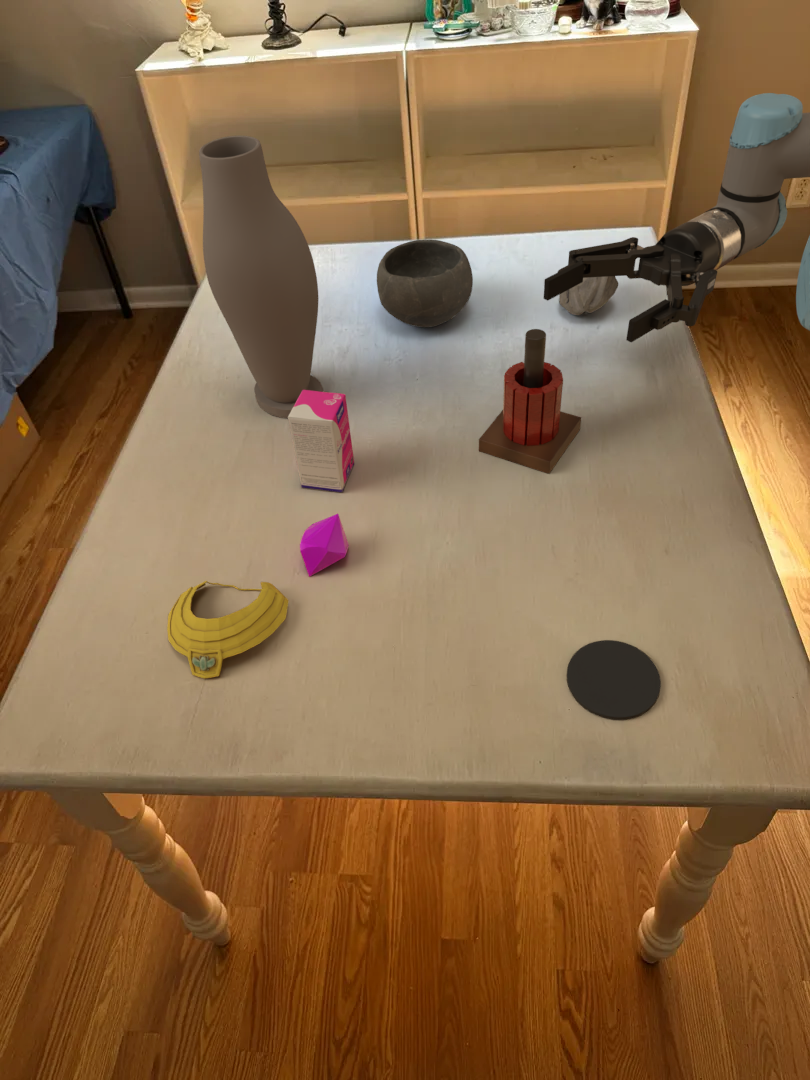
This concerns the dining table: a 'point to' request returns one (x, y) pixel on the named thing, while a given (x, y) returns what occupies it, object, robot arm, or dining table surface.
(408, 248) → the bowl
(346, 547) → the crystal
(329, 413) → the supplement box
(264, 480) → the dining table surface
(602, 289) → the fossil
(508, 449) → the ring holder
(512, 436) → the ring
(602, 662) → the mat
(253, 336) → the vase
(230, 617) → the necklace
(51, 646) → the dining table surface
